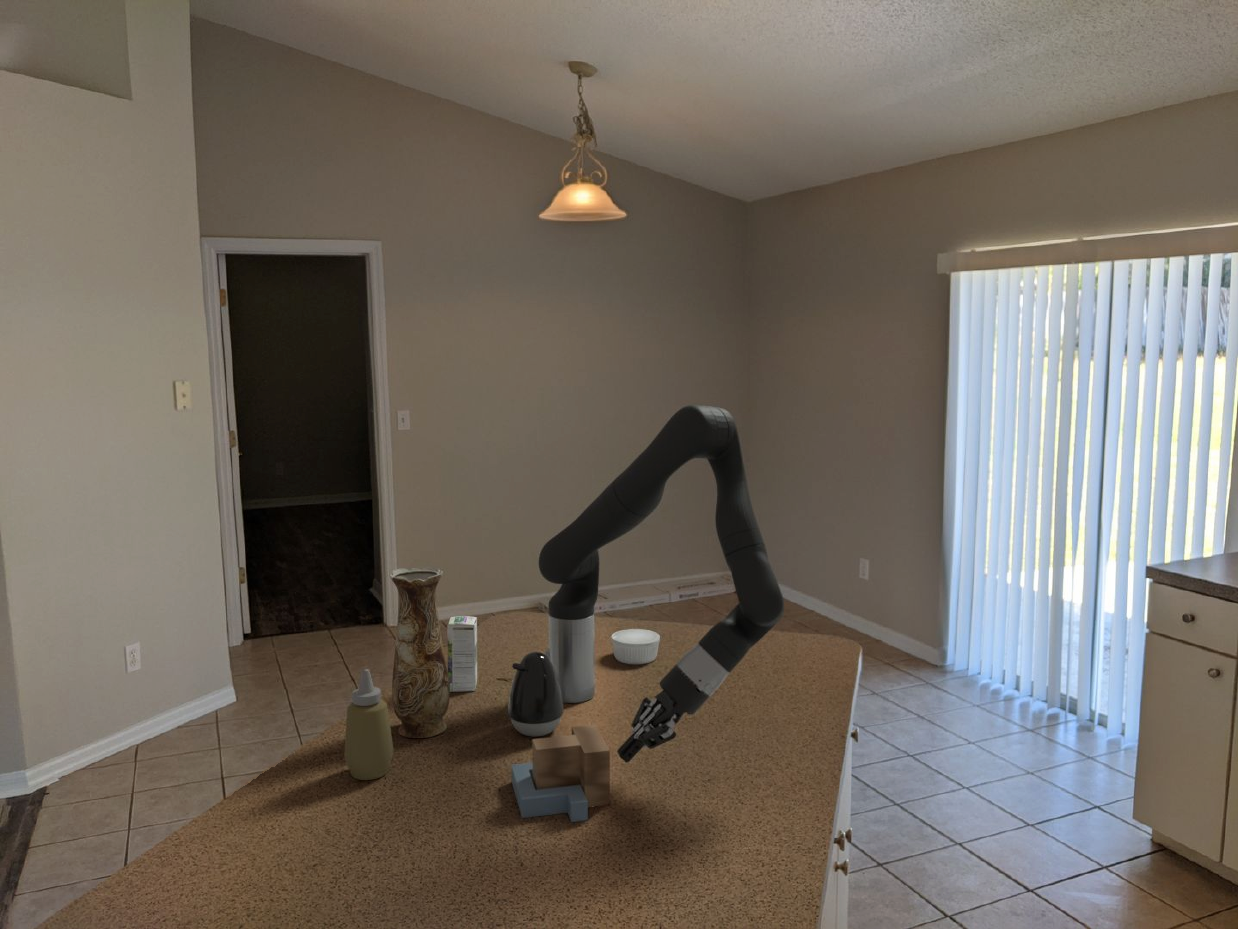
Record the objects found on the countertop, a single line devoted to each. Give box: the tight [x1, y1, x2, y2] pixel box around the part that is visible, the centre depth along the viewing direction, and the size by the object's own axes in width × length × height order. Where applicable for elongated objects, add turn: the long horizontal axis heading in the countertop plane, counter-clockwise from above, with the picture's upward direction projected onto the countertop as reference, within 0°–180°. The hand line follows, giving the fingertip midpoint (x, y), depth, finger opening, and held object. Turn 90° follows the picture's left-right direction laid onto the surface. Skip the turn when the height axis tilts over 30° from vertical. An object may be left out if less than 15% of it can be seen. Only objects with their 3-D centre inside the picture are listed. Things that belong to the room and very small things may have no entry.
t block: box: [531, 724, 611, 808], centre depth 149 cm, size 11×10×9 cm
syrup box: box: [446, 615, 478, 693], centre depth 194 cm, size 6×6×14 cm
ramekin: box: [610, 628, 661, 665], centre depth 212 cm, size 11×11×5 cm
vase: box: [389, 566, 450, 739], centre depth 172 cm, size 10×11×30 cm
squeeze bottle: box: [343, 668, 394, 781], centre depth 155 cm, size 8×8×18 cm
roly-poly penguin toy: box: [507, 651, 564, 738], centre depth 172 cm, size 10×10×15 cm
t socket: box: [510, 761, 589, 823], centre depth 148 cm, size 10×18×3 cm, turn 14°
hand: (621, 757), depth 151 cm, fingers closed
